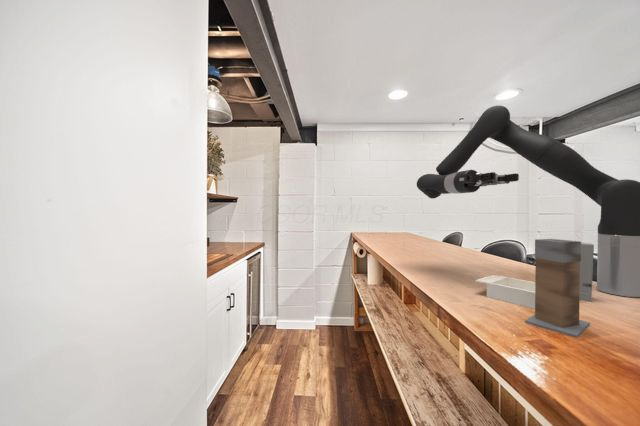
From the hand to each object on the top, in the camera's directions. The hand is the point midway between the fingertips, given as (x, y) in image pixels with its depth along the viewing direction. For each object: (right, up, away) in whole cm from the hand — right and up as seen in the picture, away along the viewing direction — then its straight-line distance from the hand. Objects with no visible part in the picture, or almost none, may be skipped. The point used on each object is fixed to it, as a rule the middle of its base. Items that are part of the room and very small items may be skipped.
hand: (506, 176), depth 75 cm
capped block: (-4, -33, -20) cm, 39 cm away
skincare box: (+17, -34, -2) cm, 38 cm away
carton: (0, -34, -4) cm, 34 cm away
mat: (-4, -34, -20) cm, 40 cm away
